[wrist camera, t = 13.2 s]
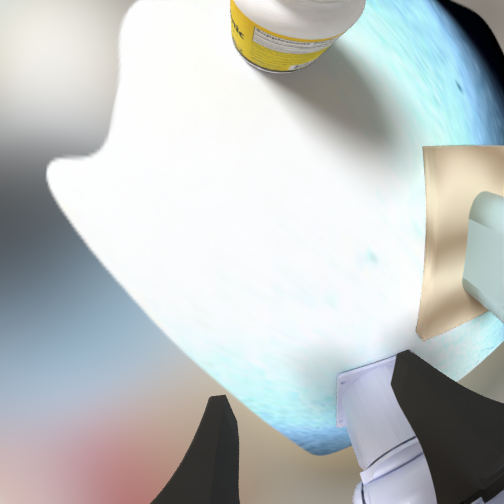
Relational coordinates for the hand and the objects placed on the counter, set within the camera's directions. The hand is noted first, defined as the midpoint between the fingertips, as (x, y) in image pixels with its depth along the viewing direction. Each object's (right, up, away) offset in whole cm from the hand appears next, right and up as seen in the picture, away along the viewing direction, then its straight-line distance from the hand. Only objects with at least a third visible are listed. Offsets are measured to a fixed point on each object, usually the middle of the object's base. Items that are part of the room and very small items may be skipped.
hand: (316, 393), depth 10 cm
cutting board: (+16, +7, +9) cm, 20 cm away
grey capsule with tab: (+16, +6, +7) cm, 19 cm away
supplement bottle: (-1, +19, +3) cm, 19 cm away
